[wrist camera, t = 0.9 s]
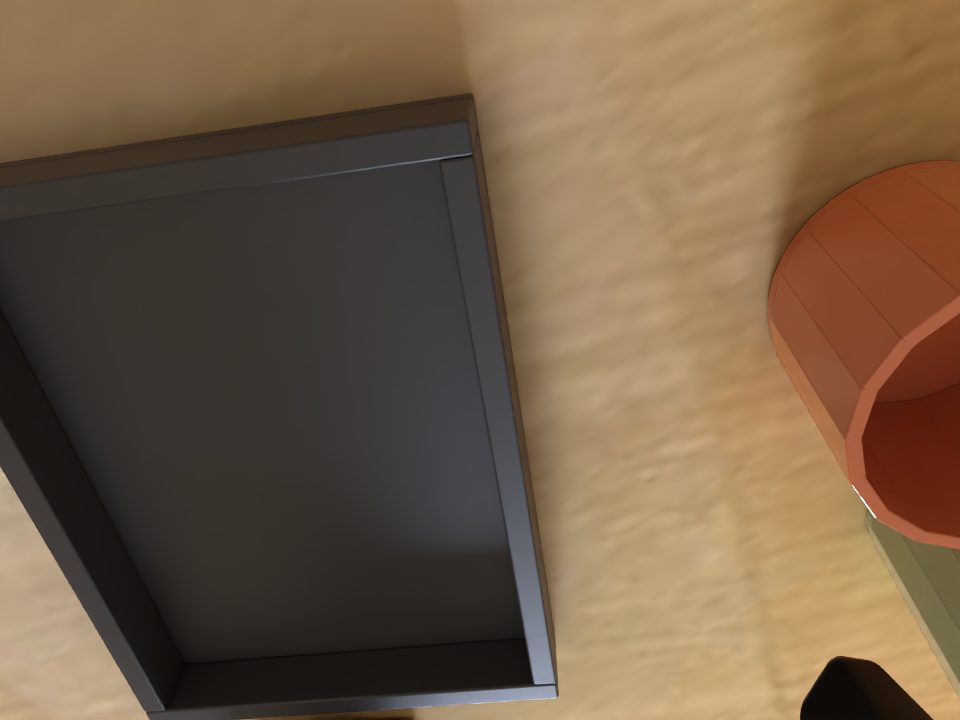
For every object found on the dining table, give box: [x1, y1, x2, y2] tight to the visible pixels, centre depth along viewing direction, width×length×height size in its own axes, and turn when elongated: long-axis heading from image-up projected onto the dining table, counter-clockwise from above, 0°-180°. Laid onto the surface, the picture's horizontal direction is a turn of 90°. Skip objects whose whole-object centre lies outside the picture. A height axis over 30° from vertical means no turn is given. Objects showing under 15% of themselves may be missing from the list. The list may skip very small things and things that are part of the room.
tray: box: [0, 93, 559, 720], centre depth 23 cm, size 20×15×2 cm
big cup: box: [767, 160, 960, 549], centre depth 19 cm, size 7×7×6 cm
